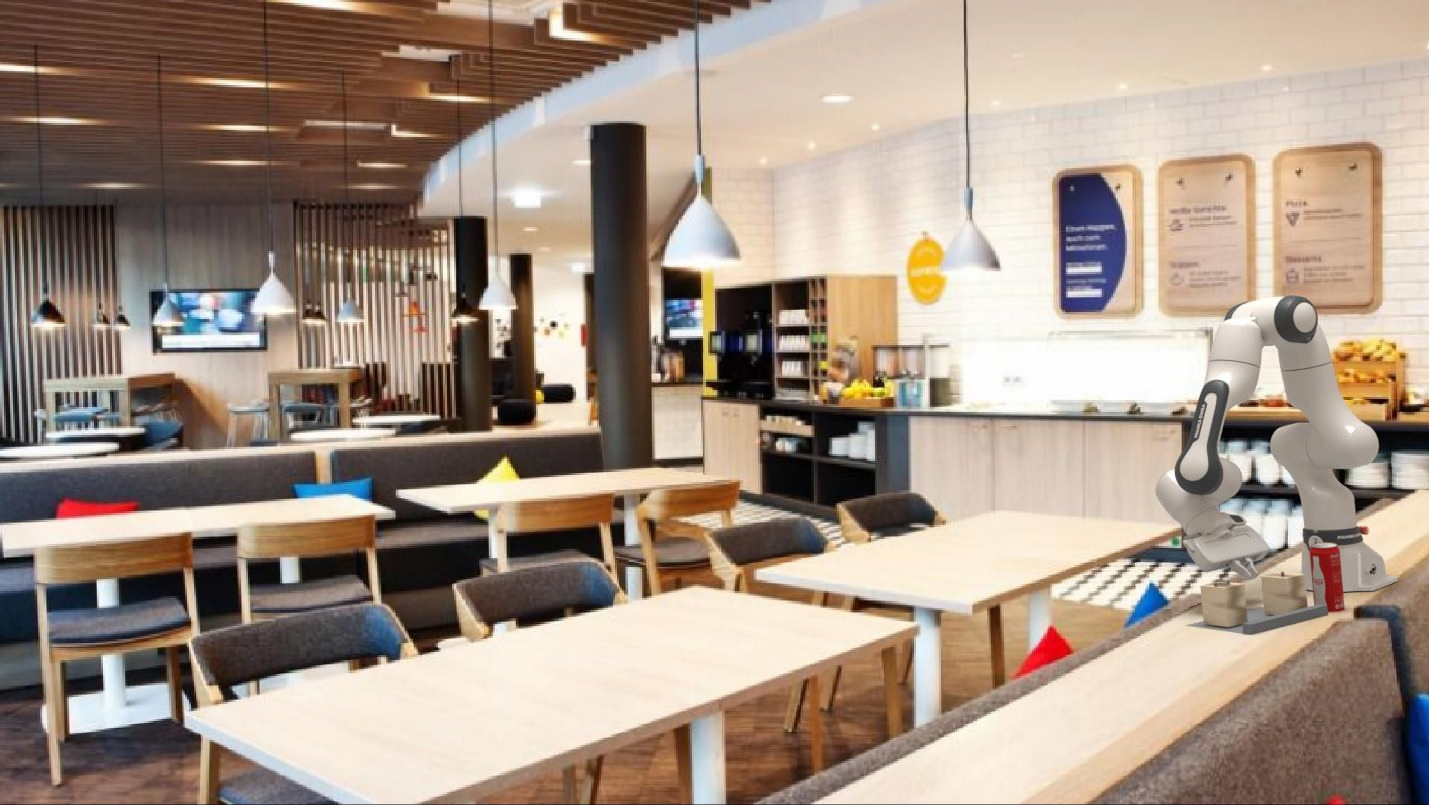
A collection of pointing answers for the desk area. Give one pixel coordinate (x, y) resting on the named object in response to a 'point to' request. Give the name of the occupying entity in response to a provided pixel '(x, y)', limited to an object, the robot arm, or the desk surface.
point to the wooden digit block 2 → (1224, 603)
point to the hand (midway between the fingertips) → (1253, 577)
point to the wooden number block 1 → (1283, 592)
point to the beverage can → (1327, 576)
